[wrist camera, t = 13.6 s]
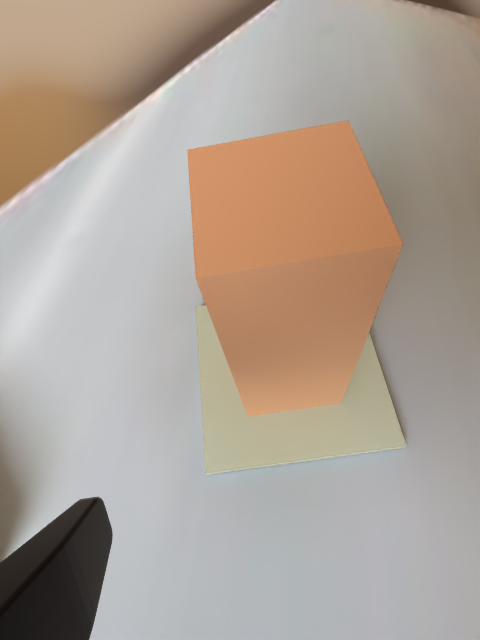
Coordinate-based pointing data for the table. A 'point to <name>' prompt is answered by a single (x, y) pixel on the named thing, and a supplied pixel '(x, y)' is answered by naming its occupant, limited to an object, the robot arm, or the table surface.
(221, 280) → the plug
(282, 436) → the mat
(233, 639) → the table surface
